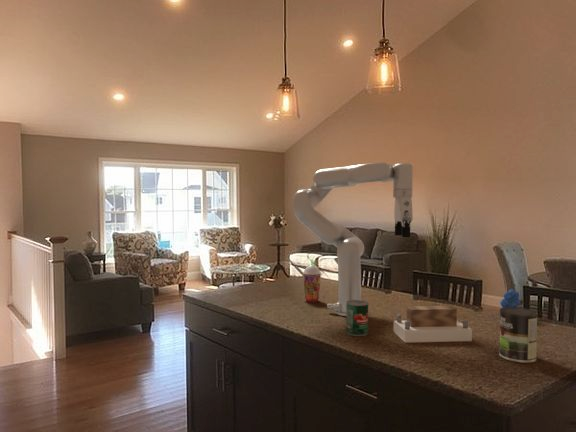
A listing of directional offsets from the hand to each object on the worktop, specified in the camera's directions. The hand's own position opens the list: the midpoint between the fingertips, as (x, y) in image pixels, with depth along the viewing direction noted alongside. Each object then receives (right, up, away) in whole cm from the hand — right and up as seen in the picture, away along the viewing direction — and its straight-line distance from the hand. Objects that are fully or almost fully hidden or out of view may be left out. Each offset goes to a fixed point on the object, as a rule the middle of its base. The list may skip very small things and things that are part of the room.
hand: (402, 236), depth 187 cm
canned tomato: (-21, -34, -21) cm, 46 cm away
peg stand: (+4, -34, -26) cm, 43 cm away
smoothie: (-35, -33, +32) cm, 57 cm away
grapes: (+42, -33, -1) cm, 54 cm away
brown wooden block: (+4, -30, -26) cm, 40 cm away
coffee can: (+23, -35, -47) cm, 63 cm away
